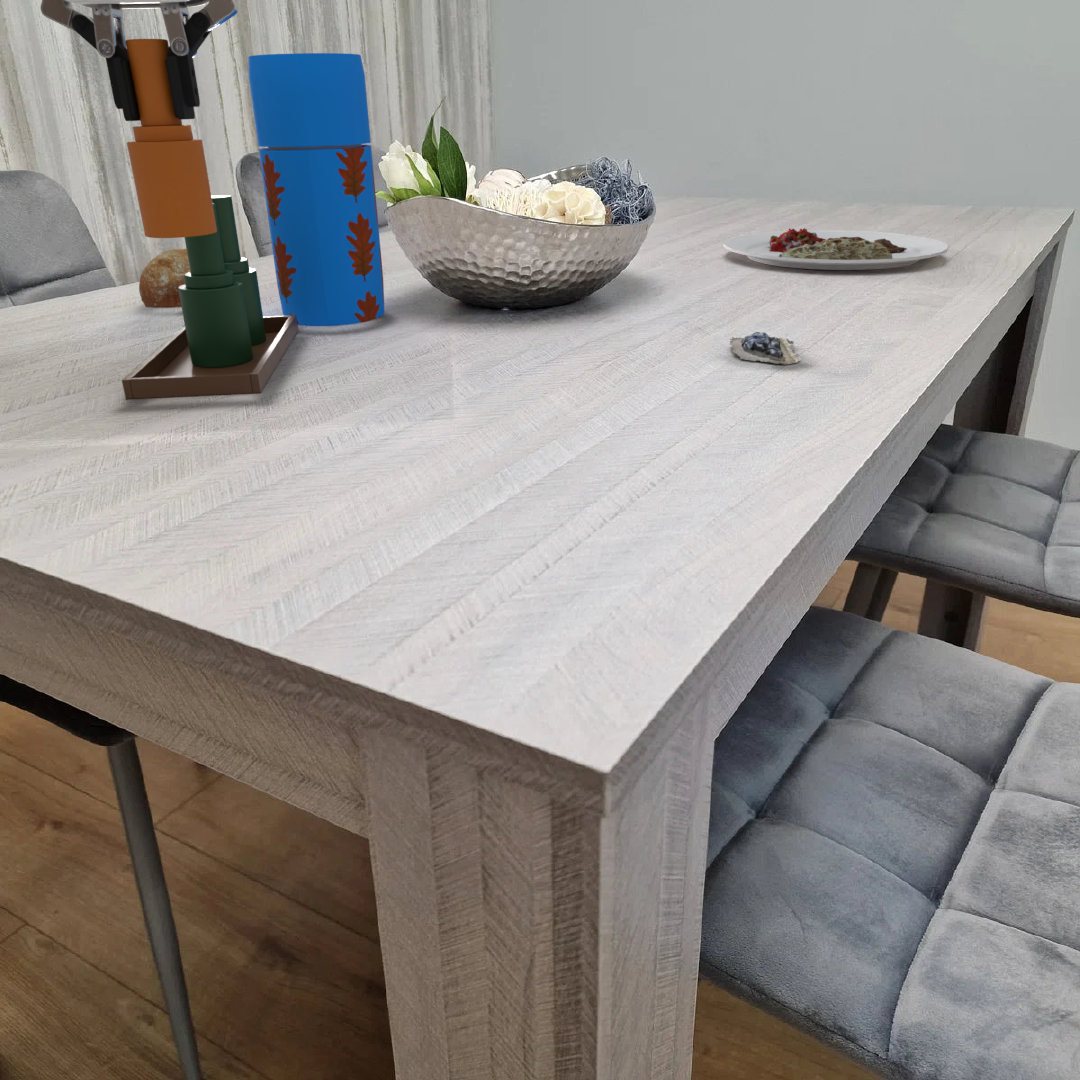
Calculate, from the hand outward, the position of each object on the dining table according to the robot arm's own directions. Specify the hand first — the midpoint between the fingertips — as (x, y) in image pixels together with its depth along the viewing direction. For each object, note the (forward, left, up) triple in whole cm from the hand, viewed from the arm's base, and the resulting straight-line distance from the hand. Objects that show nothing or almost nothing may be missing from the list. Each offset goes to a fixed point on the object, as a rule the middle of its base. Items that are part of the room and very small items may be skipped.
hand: (160, 117), depth 68 cm
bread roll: (-10, +38, -20) cm, 44 cm away
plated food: (+74, +54, -20) cm, 94 cm away
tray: (0, +7, -20) cm, 21 cm away
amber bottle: (0, 0, -8) cm, 8 cm away
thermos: (+8, +25, -20) cm, 33 cm away
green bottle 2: (0, +14, -20) cm, 24 cm away
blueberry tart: (+48, +3, -20) cm, 52 cm away
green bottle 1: (0, +7, -20) cm, 21 cm away
